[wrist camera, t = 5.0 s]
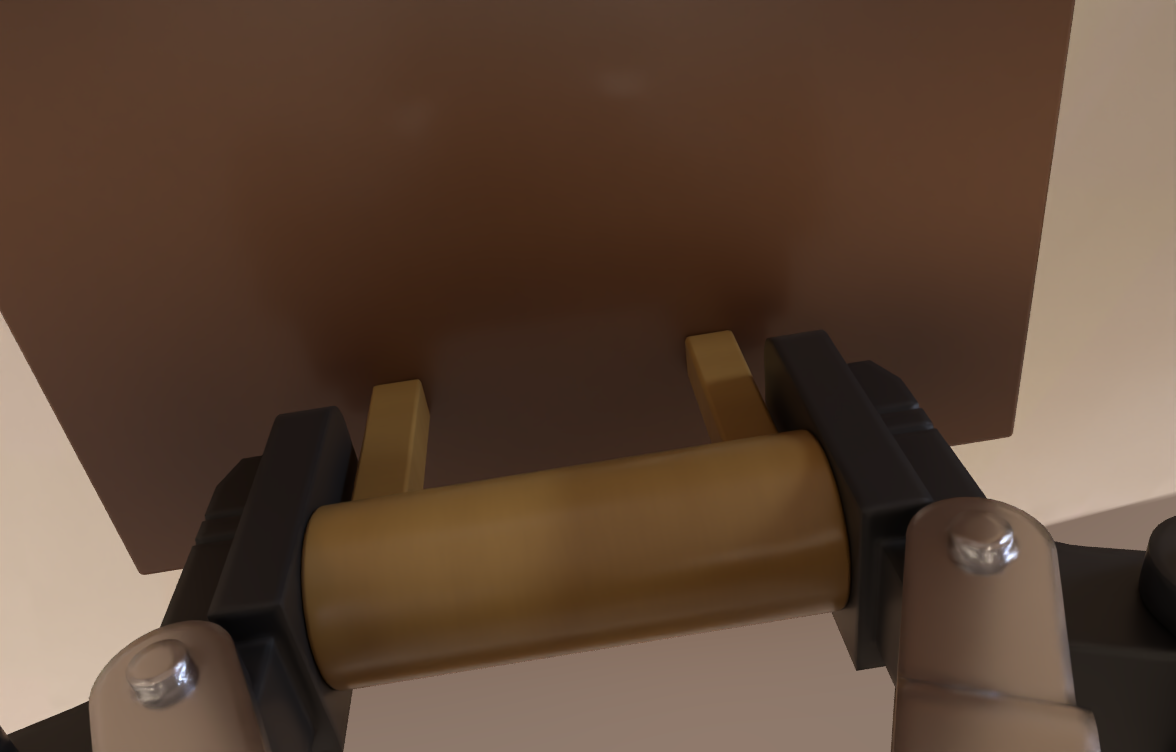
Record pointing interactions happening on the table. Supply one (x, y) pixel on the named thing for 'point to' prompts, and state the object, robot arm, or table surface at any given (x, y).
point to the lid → (518, 283)
